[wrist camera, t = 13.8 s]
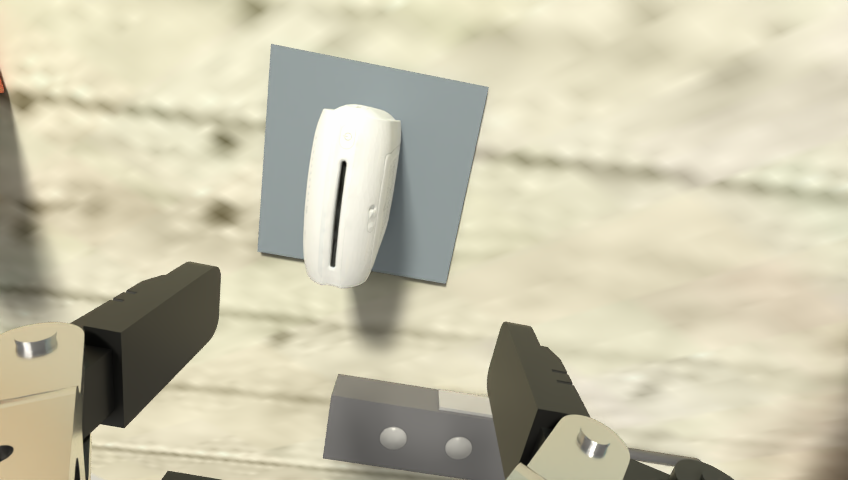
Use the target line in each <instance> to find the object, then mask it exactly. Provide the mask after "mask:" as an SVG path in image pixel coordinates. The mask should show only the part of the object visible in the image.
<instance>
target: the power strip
mask: <svg viewBox="0 0 848 480" xmlns="http://www.w3.org/2000/svg"><path fill="white" fill-rule="evenodd" d="M628 450H629V453H630V458H631V459H633V460H638V461H644V462H651V463H657V464H664V465H671V466H675V465H676V463H677V462H678V461H680V460H684V459H691V460H697V461H700V460H699V459H697V458H691V457H684V456H678V455H671V454H665V453H658V452H652V451H645V450H639V449H632V448H628ZM323 458H325V459H332V460H338V461H345V462H352V463H359V464H366V465H372V466H379V467H386V468H393V469H400V470H407V471H413V472H420V473H427V474H434V475H441V476H447V477H454V478H461V479H468V480H505V477H504V472H503V467H502V462H501V457H500V452H499V447H498V442H497V437H496V432H495V427H494V422H493V417H492V412H491V407H490V402H489V397H485V396H479V395H472V394H466V393H460V392H453V391H447V390H441V389H439V390H436V389H430V388H424V387H417V386H411V385H405V384H398V383H392V382H386V381H379V380H373V379H367V378H360V377H354V376H348V375H341V374H338V377H337V380H336V383H335V386H334V389H333V392H332V395H331V403H330V410H329V417H328V424H327V432H326V439H325V446H324V453H323ZM700 462H701V461H700Z"/></svg>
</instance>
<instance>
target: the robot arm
mask: <svg viewBox="0 0 848 480" xmlns="http://www.w3.org/2000/svg"><path fill="white" fill-rule="evenodd" d="M220 282H221V273H220V270H219V268H218V267H215V266H210V265H205V264H199V263H194V262H186V263H184V264H183V265H181V266H180V267H178V268H176V269H175V270H173V271H171V272H170V273H168V274H167V275H161V276H158V277H155V278H151V279H148V280H145V281H142V282H140V283H138V284H137V285H135V286H133V287H132V288H130V289H128V290H127V291H126V293H125V292H123V293H121V294H120V295H118V296H116V297H114V299H113V300H109V301H108V302H106V303H104V304H102V305H101V306H99V307H97V308H96V309H94V310H92V311H91V312H89V313H87V314H85V315H84V316H82V317H80V318H79V319H77V320H75V321H73V322H72V323H63V322H45V323H36V324H30V325H26V326H22V327H18V328H15V329H12V330H9V331H6V332H4V333H2V334H0V480H91V479H90V478H91V450H92V441H91V432H92V431H93V430H94V429H95V428H96V427H97V426H98V425H99V424H103V425H109V426H115V427H121V428H125V427H126V426H127V425H128V424H129V423H130V422H131V421H132V420H133V419H134V418H135V417H136V416H137V415H138V414H139V413H140V412H141V410H142V409H143V408H144V407H145V406H146V405H147V404H148V403H149V402H150V401H151V400H152V399H153V398H154V397H155V396H156V395H157V394H158V393H159V392H160V391H161V390H162V389H163V388H164V387H165V386H166V385H167V384H168V383H169V382H170V381H171V380H172V379H173V378H174V377H175V375H176V374H177V373H178V372H179V371H180V370H181V369H182V368H183V367H184V366H185V365H186V364H187V363H188V362H189V361H190V360H191V359H192V358H193V357H194V356H195V355H196V354H197V353H198V352H199V351H200V350H201V349H202V348H203V347H204V346H205V345H206V344H207V343H208V342H209V340H210V339H211V338H212V336H213V335H214V332H215V330H216V328H217V324H218V319H219V302H220ZM487 391H488V397H489V402H490V407H491V412H492V417H493V422H494V427H495V432H496V437H497V442H498V447H499V452H500V457H501V462H502V467H503V472H504V477H505V480H734V479H732V478H731V477H730V476H728V475H727V474H725V473H723V472H722V471H720V470H718V469H717V468H715V467H713V466H711V465H708V464H706V463H703V462H700V461H697V460H691V459H684V460H680V461H678V462H677V463H676V465H675V467H674V469H673V471H672V473H671V475H669V474H666V473H664V472H662V471H659V470H657V469H654V468H652V467H649V466H647V465H645V464H642V463H640V462H637V461H635V460H633V459H631V458H630V453H629V450H628V448H627V446H626V444H625V443H624V442H623V440H622V439H621V438H620V437H619V436H618V435H617V434H616V433H615V432H614V431H613V430H611V429H610V428H609V427H607V426H606V425H604V424H603V423H601V422H599V421H597V420H595V419H592V418H591V417H590V415H589V414H588V412H587V410H586V408H585V406H584V404H583V402H582V400H581V398H580V396H579V394H578V392H577V390H576V389H575V387H574V385H572V381H571V379H570V377H569V375H567V371H566V369H565V367H564V365H563V364H562V362H561V360H560V359H559V358H558V357H557V356H556V355H555V354H554V353H553V352H552V351H551V350H550V349H549V348H548V347H544V346H540V344H539V342H538V340H537V337H536V335H535V333H534V331H533V329H532V327H531V326H526V325H521V324H515V323H510V322H504V323H503V324H502V326H501V329H500V332H499V336H498V339H497V342H496V346H495V349H494V353H493V356H492V360H491V363H490V367H489V371H488V377H487ZM162 480H220V479H214V478H208V477H202V476H196V475H190V474H184V473H178V472H172V471H167V473H166V474H165V476H164V477H163V478H162Z"/></svg>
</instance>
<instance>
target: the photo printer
mask: <svg viewBox="0 0 848 480" xmlns="http://www.w3.org/2000/svg"><path fill="white" fill-rule="evenodd" d="M400 143H401V121H400V120H395V119H394V118H393V117H392V116H391V115H390V114H389V113H387V112H386V111H383V110H380V109H376V108H372V107H368V106H363V105H357V104H349V105H344V106H341V107H339V108H337V109H335V110H334V109H323V111H322V113H321V116H320V118H319V121H318V124H317V127H316V131H315V135H314V141H313V146H312V152H311V158H310V165H309V172H308V180H307V189H306V199H305V211H304V231H303V252H304V262H305V267H306V271H307V274H308V276H309V277H310V279H311V280H313V281H314V282H316V283H318V284H320V285H332V286H336V287H339V288H349V287H355V286H358V285H360V284H362V283H364V282H365V281H366V280H367V279H368V277H369V275H370V273H371V270H372V267H373V265H374V262H375V259H376V255H377V253H378V250H379V247H380V244H381V242H382V239H383V236H384V233H385V230H386V227H387V224H388V220H389V214H390V209H391V203H392V198H393V192H394V186H395V179H396V173H397V166H398V159H399V151H400Z"/></svg>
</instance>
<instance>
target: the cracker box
mask: <svg viewBox="0 0 848 480" xmlns="http://www.w3.org/2000/svg"><path fill="white" fill-rule="evenodd" d="M0 93H4V87H3V84H2V82H1V79H0Z"/></svg>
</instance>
